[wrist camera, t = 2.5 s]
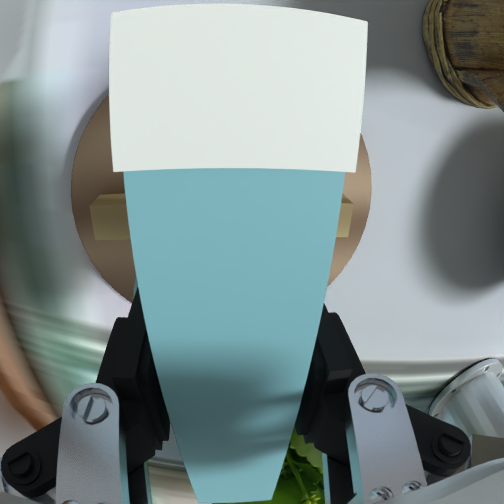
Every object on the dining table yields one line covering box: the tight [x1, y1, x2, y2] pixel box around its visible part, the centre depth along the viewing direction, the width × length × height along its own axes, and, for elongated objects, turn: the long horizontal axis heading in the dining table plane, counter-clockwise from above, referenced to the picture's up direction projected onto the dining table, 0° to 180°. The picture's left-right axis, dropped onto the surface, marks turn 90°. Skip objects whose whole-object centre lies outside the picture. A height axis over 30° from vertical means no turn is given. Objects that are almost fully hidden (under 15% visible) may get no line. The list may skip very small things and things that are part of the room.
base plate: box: [71, 95, 371, 303], centre depth 16 cm, size 18×18×8 cm
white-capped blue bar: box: [109, 4, 368, 503], centre depth 9 cm, size 14×6×6 cm, turn 178°
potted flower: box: [212, 425, 325, 504], centre depth 24 cm, size 25×24×18 cm
